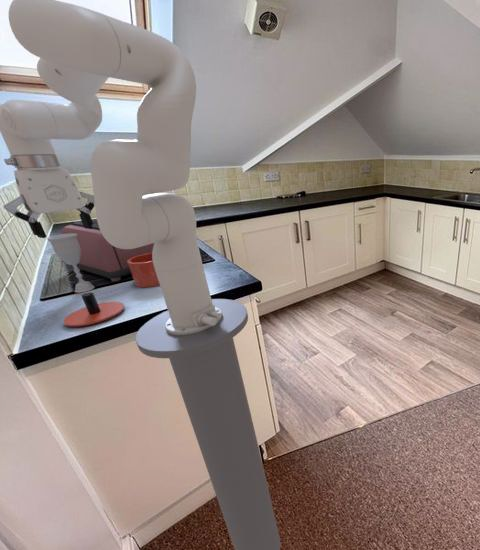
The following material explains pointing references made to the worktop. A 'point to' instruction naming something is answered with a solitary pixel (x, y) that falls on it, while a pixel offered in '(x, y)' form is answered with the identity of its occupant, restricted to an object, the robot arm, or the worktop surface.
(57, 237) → the chalice
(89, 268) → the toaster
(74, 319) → the lid
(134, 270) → the pot
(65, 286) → the worktop surface
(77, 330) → the worktop surface
